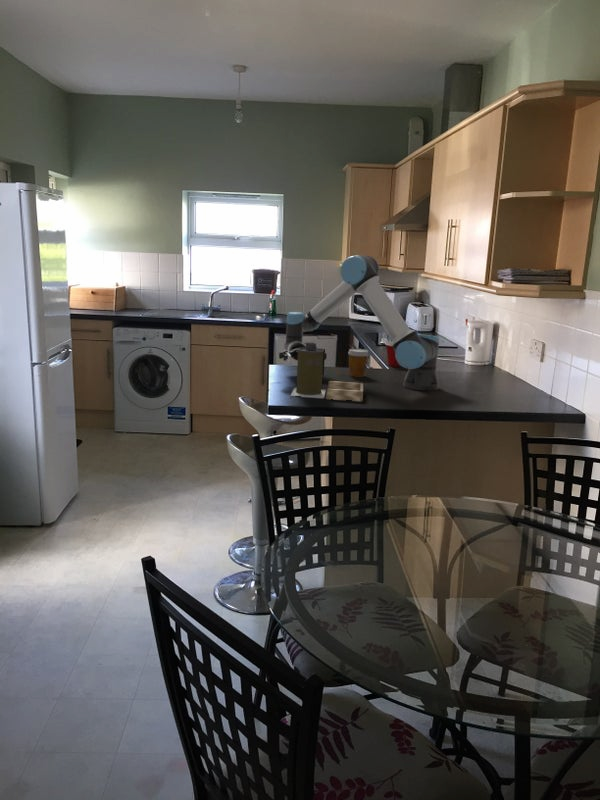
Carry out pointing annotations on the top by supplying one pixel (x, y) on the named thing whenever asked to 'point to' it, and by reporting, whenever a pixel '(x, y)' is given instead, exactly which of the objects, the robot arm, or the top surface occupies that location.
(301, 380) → the canister
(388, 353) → the plastic cup
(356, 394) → the tan low open frame
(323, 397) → the mat
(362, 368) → the disposable coffee cup
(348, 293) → the robot arm
